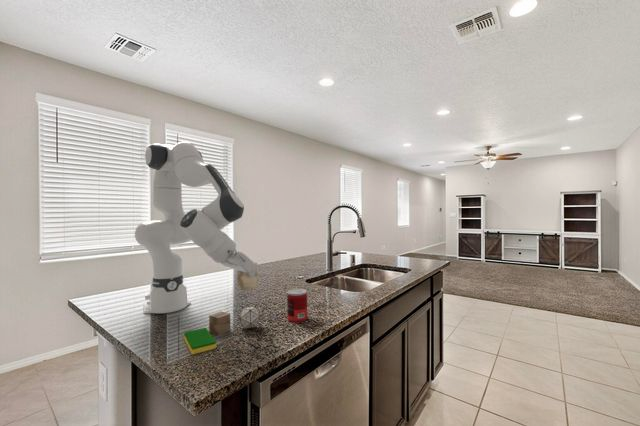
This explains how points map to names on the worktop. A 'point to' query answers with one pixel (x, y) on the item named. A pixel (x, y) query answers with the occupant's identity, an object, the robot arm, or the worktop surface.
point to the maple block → (247, 280)
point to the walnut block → (219, 323)
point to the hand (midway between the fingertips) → (248, 274)
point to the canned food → (297, 305)
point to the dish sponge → (199, 340)
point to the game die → (249, 317)
